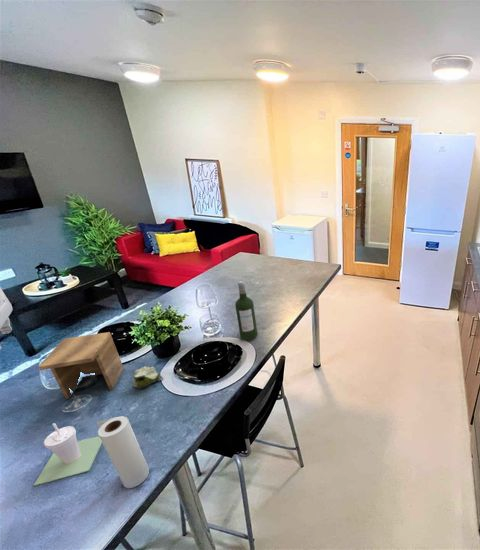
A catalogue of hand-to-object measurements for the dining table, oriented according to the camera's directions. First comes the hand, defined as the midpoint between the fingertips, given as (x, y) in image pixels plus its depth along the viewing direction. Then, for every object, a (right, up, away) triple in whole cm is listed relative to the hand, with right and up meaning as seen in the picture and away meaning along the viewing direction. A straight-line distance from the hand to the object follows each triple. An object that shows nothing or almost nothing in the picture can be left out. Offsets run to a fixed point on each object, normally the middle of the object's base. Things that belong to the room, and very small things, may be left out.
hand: (2, 340), depth 81 cm
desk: (-3, -25, +30) cm, 39 cm away
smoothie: (+14, -36, +5) cm, 40 cm away
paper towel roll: (+36, -39, +2) cm, 54 cm away
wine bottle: (+44, -12, +63) cm, 78 cm away
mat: (+14, -37, +6) cm, 40 cm away
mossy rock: (+15, -24, +33) cm, 44 cm away
